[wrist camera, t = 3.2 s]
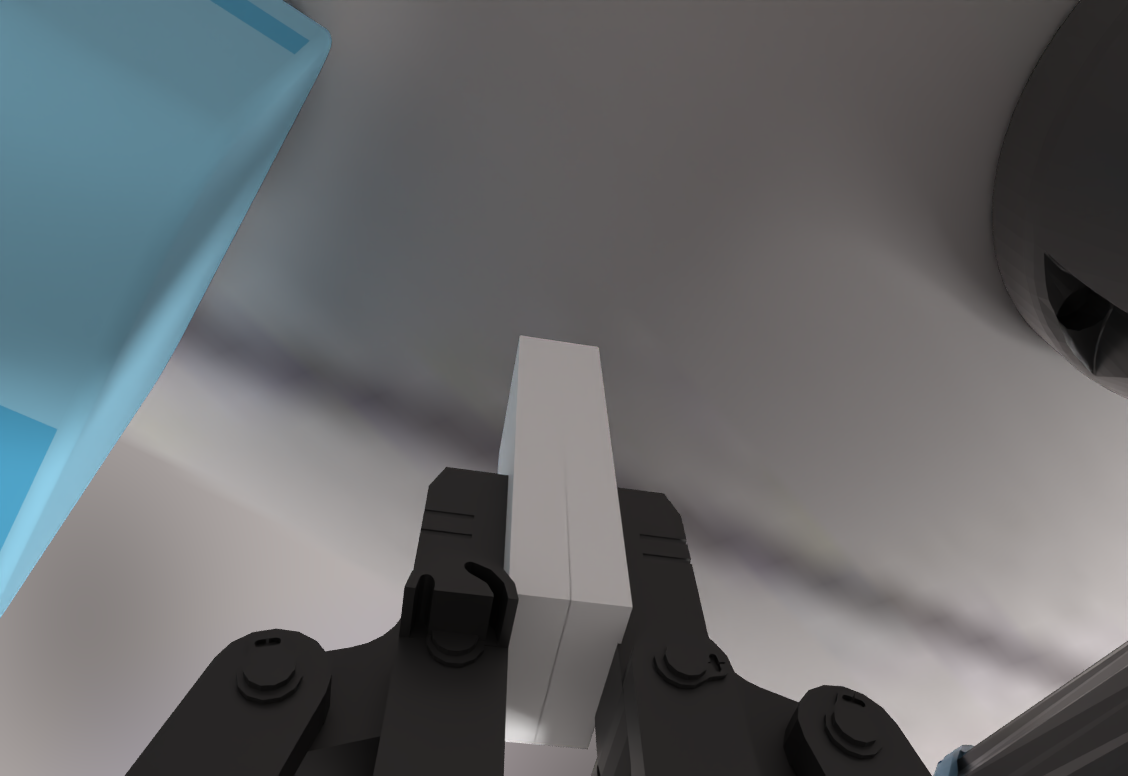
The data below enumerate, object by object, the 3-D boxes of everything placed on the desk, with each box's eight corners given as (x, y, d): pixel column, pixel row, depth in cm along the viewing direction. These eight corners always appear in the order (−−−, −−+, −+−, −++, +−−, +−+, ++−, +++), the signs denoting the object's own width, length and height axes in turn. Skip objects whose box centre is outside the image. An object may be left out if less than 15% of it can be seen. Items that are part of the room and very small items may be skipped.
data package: (170, -92, 19) (-182, -61, 9) (344, 25, 21) (210, 162, 11) (13, 297, 24) (-335, 603, 14) (166, 368, 26) (-45, 689, 16)
